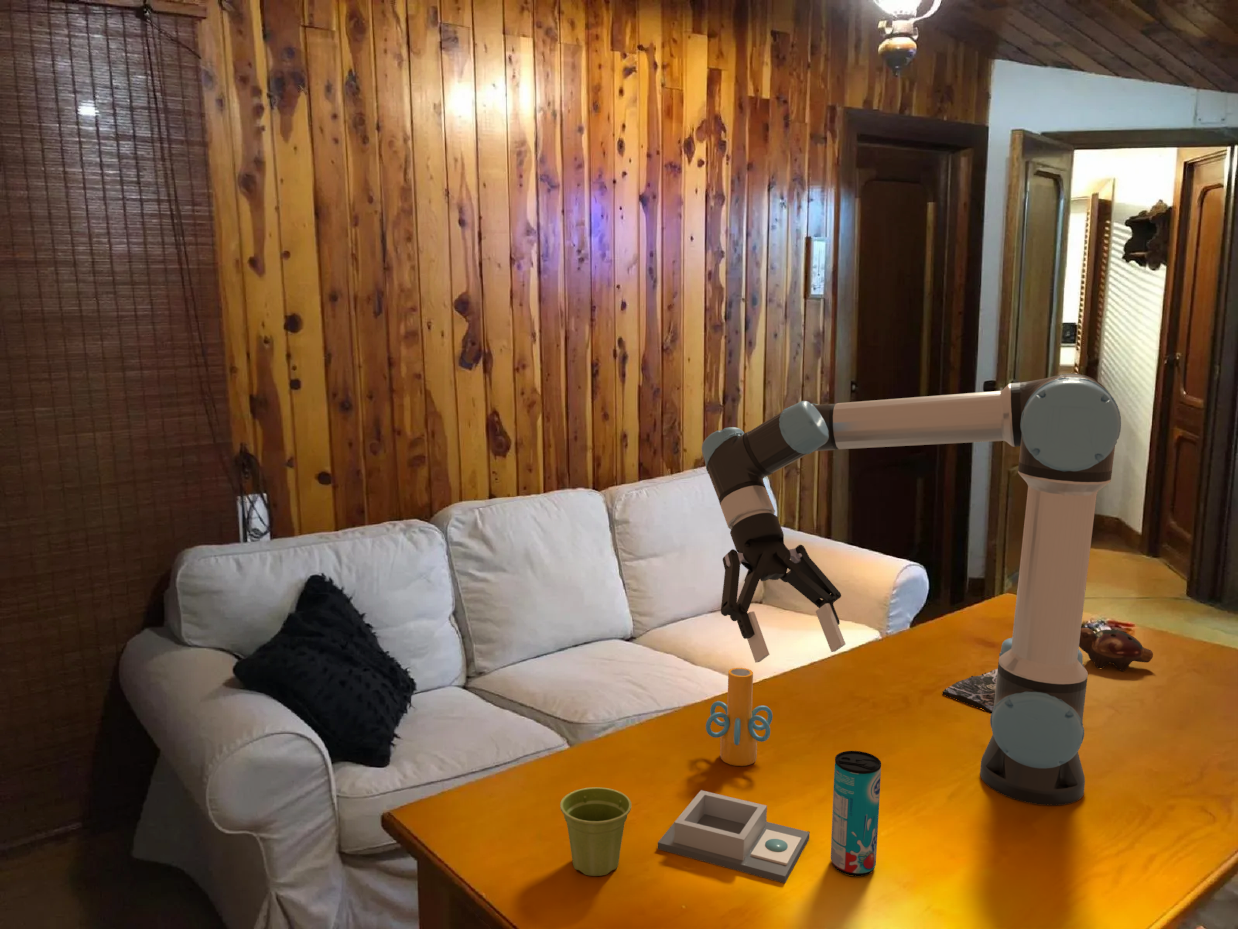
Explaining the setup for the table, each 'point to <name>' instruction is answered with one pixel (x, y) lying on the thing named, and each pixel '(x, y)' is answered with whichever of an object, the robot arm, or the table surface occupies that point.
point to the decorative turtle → (1113, 648)
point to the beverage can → (855, 812)
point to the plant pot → (595, 828)
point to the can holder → (735, 837)
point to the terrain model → (975, 690)
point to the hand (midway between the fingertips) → (801, 653)
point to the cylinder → (739, 720)
